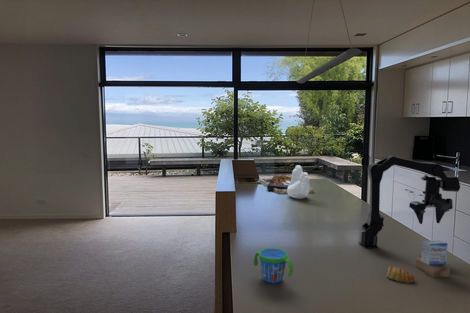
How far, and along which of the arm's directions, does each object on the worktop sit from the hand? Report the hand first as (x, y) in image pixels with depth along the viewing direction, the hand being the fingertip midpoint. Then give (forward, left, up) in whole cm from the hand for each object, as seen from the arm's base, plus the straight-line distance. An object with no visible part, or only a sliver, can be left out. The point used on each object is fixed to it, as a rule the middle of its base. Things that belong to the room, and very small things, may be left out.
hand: (429, 223), depth 159 cm
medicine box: (-15, -20, -10) cm, 27 cm away
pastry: (-32, -23, -14) cm, 42 cm away
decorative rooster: (-19, +108, -13) cm, 110 cm away
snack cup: (-81, -16, -13) cm, 84 cm away
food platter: (-14, +152, -12) cm, 153 cm away
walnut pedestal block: (-15, -20, -13) cm, 28 cm away
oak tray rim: (-14, +152, -13) cm, 153 cm away
